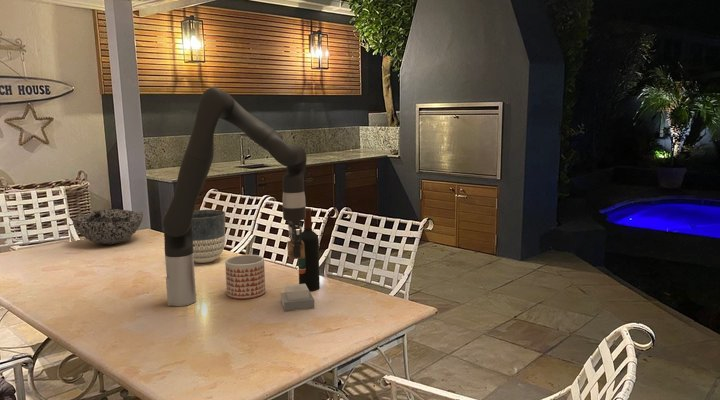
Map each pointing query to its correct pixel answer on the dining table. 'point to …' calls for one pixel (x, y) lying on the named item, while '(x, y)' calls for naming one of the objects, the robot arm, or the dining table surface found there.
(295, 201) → the robot arm
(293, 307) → the plinth
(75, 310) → the dining table surface
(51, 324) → the dining table surface
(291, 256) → the walnut block
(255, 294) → the vase
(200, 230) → the planter
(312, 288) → the wine bottle
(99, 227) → the bowl
